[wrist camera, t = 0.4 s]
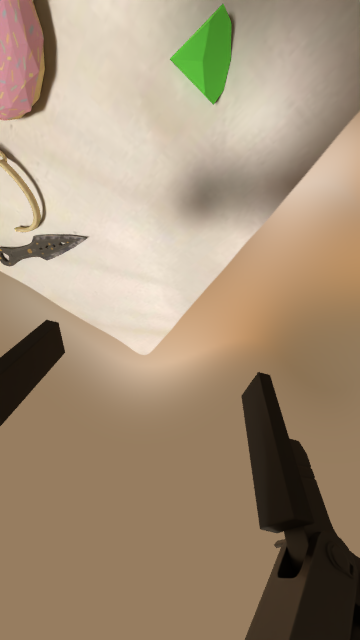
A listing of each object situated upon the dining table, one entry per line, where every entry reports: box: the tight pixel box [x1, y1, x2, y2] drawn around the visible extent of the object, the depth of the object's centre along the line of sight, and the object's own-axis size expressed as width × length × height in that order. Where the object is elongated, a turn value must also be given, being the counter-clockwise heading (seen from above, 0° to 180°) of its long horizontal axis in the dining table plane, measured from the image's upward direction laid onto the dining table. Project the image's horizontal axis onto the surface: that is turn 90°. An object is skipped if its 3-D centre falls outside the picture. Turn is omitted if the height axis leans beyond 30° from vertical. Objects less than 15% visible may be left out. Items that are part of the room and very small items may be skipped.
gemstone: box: [170, 4, 231, 105], centre depth 20 cm, size 6×6×6 cm
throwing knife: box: [0, 235, 87, 266], centre depth 35 cm, size 4×20×1 cm, turn 102°
